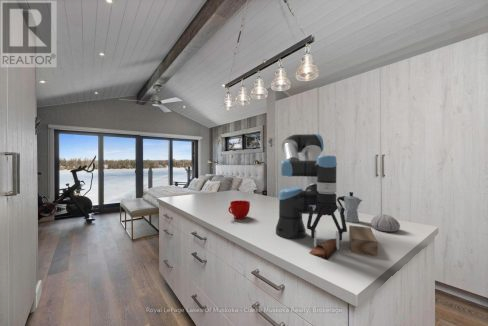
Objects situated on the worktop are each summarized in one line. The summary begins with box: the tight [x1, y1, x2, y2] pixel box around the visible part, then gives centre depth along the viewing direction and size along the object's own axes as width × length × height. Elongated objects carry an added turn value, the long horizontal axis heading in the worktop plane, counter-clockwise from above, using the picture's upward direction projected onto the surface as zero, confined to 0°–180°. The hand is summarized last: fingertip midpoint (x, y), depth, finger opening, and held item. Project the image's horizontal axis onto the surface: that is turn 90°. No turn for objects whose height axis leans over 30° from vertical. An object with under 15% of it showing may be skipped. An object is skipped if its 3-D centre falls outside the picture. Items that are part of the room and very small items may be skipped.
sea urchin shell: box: [370, 214, 401, 233], centre depth 114 cm, size 13×14×8 cm
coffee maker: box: [336, 191, 363, 224], centre depth 131 cm, size 15×9×18 cm, turn 48°
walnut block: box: [348, 224, 378, 257], centre depth 93 cm, size 9×19×6 cm, turn 156°
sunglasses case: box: [308, 238, 341, 261], centre depth 88 cm, size 18×7×7 cm
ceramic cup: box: [227, 200, 251, 220], centre depth 136 cm, size 13×17×10 cm
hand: (326, 247), depth 87 cm, fingers open, 8 cm apart
